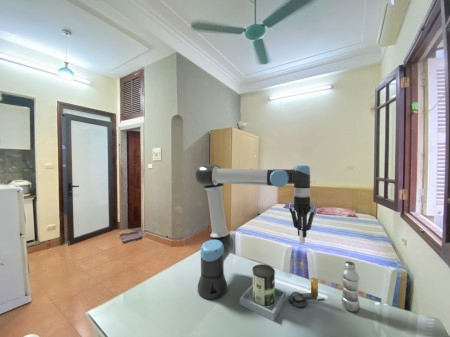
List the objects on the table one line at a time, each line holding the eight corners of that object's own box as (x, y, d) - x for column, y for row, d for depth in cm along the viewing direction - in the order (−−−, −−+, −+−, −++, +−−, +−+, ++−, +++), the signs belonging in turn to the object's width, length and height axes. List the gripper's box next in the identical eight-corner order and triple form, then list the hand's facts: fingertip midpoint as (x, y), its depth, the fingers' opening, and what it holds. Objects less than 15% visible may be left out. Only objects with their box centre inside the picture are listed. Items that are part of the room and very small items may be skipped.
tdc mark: (317, 300, 87) (317, 300, 87) (316, 299, 88) (316, 298, 88) (325, 300, 88) (325, 299, 88) (323, 298, 89) (323, 298, 89)
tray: (239, 304, 85) (239, 297, 85) (255, 286, 98) (255, 280, 98) (273, 321, 76) (273, 313, 76) (286, 298, 89) (286, 292, 89)
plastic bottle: (360, 316, 78) (360, 268, 78) (341, 310, 81) (340, 264, 81) (359, 306, 83) (358, 262, 83) (341, 301, 87) (341, 258, 87)
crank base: (286, 303, 86) (286, 300, 86) (291, 293, 92) (291, 291, 92) (304, 310, 81) (304, 308, 81) (308, 300, 88) (308, 297, 88)
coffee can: (274, 293, 91) (274, 265, 91) (275, 309, 81) (275, 277, 81) (253, 291, 93) (252, 263, 93) (251, 306, 83) (251, 274, 83)
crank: (294, 302, 84) (294, 283, 84) (290, 295, 89) (290, 277, 89) (320, 301, 85) (320, 282, 85) (314, 294, 90) (314, 276, 90)
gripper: (286, 195, 96) (286, 241, 96) (312, 198, 87) (312, 249, 87) (293, 194, 101) (293, 237, 101) (318, 196, 92) (318, 244, 92)
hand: (302, 242), depth 94 cm, fingers closed
